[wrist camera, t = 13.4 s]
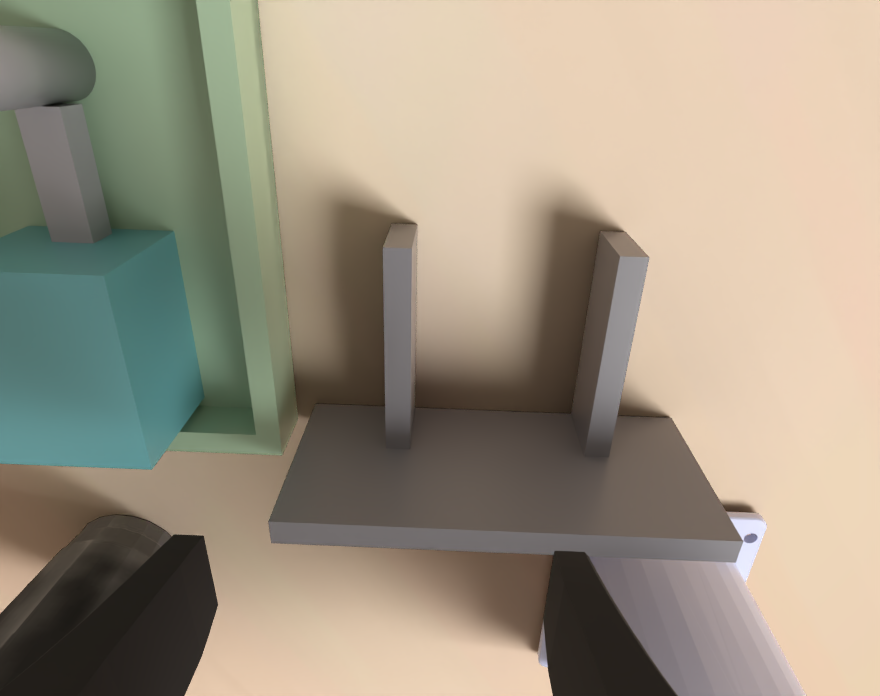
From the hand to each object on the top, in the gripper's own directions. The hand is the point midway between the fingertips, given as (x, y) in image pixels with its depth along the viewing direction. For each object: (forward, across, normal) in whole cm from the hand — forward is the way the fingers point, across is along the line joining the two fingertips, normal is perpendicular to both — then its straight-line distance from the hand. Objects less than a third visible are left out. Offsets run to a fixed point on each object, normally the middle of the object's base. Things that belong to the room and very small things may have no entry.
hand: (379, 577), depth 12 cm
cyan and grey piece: (+9, +10, -4) cm, 14 cm away
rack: (+9, -3, -2) cm, 10 cm away
